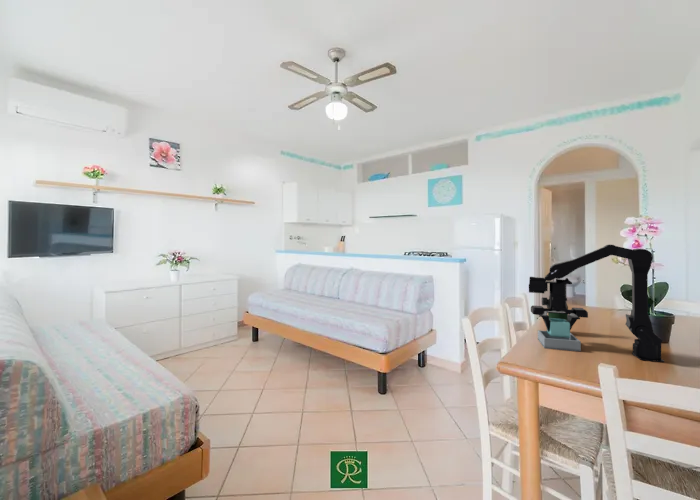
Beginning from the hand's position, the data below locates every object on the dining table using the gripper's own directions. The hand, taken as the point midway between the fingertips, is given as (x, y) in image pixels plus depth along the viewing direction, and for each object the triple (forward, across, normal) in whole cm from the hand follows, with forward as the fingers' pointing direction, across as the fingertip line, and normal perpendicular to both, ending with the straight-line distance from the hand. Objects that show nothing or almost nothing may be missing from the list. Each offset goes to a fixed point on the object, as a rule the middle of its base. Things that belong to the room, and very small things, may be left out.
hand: (558, 332), depth 123 cm
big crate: (+5, 0, 0) cm, 5 cm away
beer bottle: (+6, -5, -20) cm, 21 cm away
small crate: (+1, 0, 0) cm, 1 cm away
